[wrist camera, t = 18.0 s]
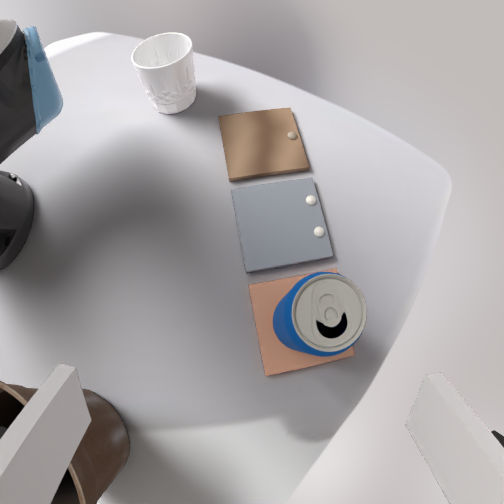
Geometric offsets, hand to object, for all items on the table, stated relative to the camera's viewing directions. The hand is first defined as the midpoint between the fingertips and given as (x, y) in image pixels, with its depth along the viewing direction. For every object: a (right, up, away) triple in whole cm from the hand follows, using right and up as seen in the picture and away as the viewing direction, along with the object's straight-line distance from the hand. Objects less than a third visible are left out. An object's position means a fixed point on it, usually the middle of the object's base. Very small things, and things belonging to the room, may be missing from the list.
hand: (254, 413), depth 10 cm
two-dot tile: (+3, +9, +27) cm, 29 cm away
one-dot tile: (+1, +20, +30) cm, 36 cm away
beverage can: (+5, -2, +24) cm, 24 cm away
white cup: (-12, +28, +32) cm, 44 cm away
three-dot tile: (+5, -2, +24) cm, 25 cm away
